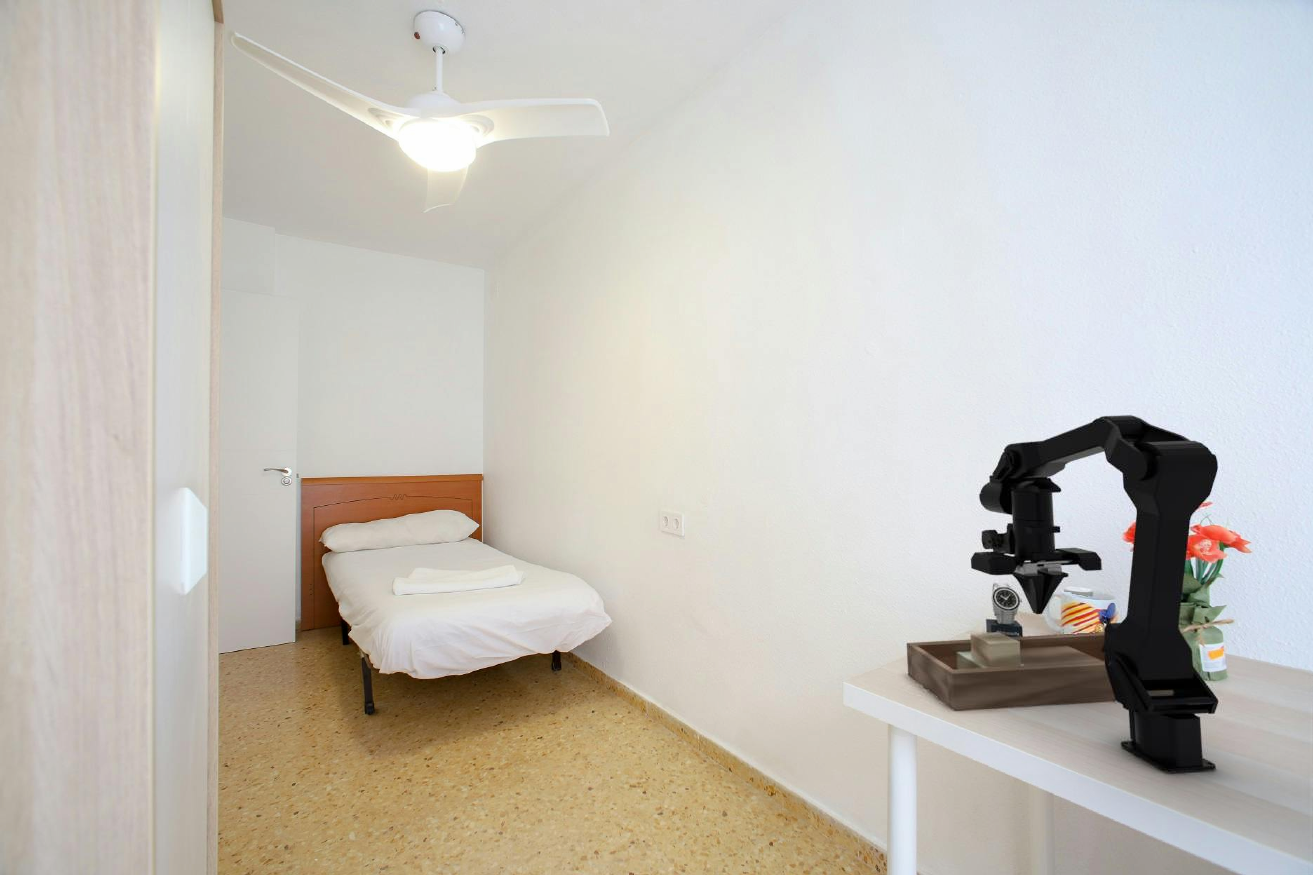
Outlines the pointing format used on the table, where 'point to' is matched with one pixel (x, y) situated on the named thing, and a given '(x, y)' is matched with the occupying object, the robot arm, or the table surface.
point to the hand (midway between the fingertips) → (1037, 613)
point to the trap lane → (1016, 673)
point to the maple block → (995, 649)
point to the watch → (1005, 611)
